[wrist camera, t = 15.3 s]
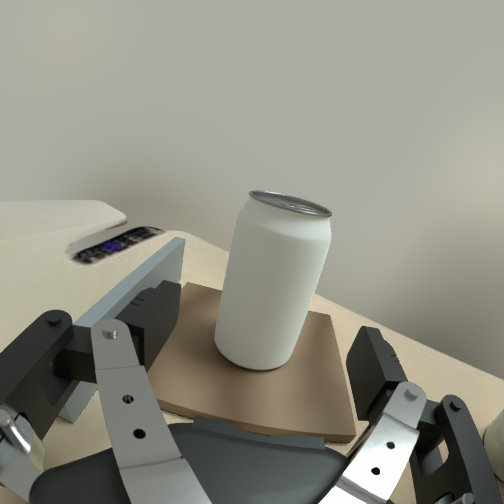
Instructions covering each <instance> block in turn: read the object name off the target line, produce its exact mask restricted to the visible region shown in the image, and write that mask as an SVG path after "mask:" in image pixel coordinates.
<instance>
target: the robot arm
mask: <svg viewBox="0 0 504 504" xmlns="http://www.w3.org/2000/svg"><path fill="white" fill-rule="evenodd" d="M180 295H181V284H179V283H175V282H171V281H168V280H163V281H162V282H161V283H160V284H159V285H158V286H157V287H156V288H152V287H149V288H147V289H145V290H142V291H140V292H139V293H138V294H137V295H136V296H135V298H133V299H132V301H131V302H130V303H129V304H128V305H127V306H126V307H125V308H124V309H123V310H122V311H121V312H120V313H119V314H118V315H117V316H116V317H115V318H114V319H102V320H99V321H97V322H96V323H94V324H93V326H92V327H84V326H78V325H73V323H72V318H71V316H70V315H69V314H68V313H67V312H65V311H62V310H50V311H47V312H45V313H43V314H42V315H41V316H39V317H38V318H37V319H36V320H35V321H34V322H33V323H32V324H31V325H29V326H28V327H27V328H26V329H25V330H24V331H23V332H22V333H21V334H20V335H19V336H18V337H17V338H16V339H15V340H14V341H12V342H11V343H10V344H9V345H8V346H7V347H6V348H5V349H4V350H3V351H2V352H1V353H0V485H1V486H3V487H7V488H9V489H10V490H11V491H13V492H14V493H15V494H17V495H18V496H19V497H21V498H22V499H24V500H25V501H26V502H28V503H29V504H394V503H393V502H392V501H391V500H390V499H389V496H390V494H391V492H392V491H393V489H394V487H395V485H396V483H397V481H398V480H399V478H400V476H401V474H402V472H403V470H404V468H405V466H406V463H407V461H408V459H409V462H410V467H411V472H412V478H413V483H414V489H415V495H416V502H417V504H503V503H502V499H501V495H500V492H499V488H498V485H497V482H496V479H495V476H494V473H495V474H496V476H498V477H499V478H500V479H501V480H502V481H503V482H504V409H503V410H502V411H501V413H500V414H499V415H498V416H497V417H496V419H495V420H494V421H493V422H492V423H491V424H490V425H489V427H488V428H487V430H486V432H485V437H484V445H483V443H482V440H481V438H480V435H479V433H478V431H477V428H476V426H475V424H474V421H473V419H472V417H471V415H470V413H469V410H468V408H467V406H466V404H465V403H464V402H463V400H461V399H460V398H459V397H457V396H455V395H446V396H445V397H444V398H443V399H442V400H441V402H440V403H438V402H434V401H431V400H427V397H426V394H425V392H424V391H423V389H422V388H421V387H419V386H418V385H416V384H414V383H412V382H408V380H407V377H406V375H405V373H404V371H403V368H402V366H401V364H400V363H399V360H398V358H397V357H396V356H397V355H396V353H395V351H394V349H393V348H392V346H391V345H390V344H389V343H388V342H387V341H385V340H384V339H383V337H382V335H381V332H380V330H379V329H378V328H372V327H366V326H362V327H361V328H360V330H359V332H358V334H357V336H356V338H355V340H354V342H353V344H352V346H351V348H350V350H349V352H348V355H347V359H346V367H347V372H348V376H349V380H350V385H351V389H352V394H353V398H354V403H355V408H356V412H357V417H358V420H359V421H369V425H368V426H367V427H366V429H365V430H364V431H363V433H362V434H361V436H360V437H359V438H358V440H357V441H356V443H355V444H354V445H353V447H352V448H351V449H350V451H349V452H348V453H347V455H346V456H344V455H342V454H341V453H339V452H337V451H335V450H333V449H331V448H328V447H325V444H324V437H313V436H303V435H281V436H259V435H256V434H253V433H251V432H248V431H246V430H244V429H241V428H239V427H237V426H234V425H232V424H230V423H227V422H222V421H218V420H214V419H210V418H207V417H203V416H199V415H196V417H195V420H194V423H174V424H168V425H167V424H166V421H165V419H164V417H163V414H162V412H161V409H160V407H159V405H158V402H157V400H156V397H155V395H154V392H153V389H152V387H151V384H150V381H149V379H148V376H147V373H148V371H149V369H150V368H151V366H152V364H153V363H154V361H155V359H156V358H157V356H158V354H159V353H160V351H161V349H162V348H163V346H164V344H165V343H166V341H167V339H168V338H169V336H170V335H171V333H172V331H173V330H174V328H175V326H176V323H177V320H178V315H179V305H180ZM80 381H83V382H89V383H94V384H97V385H98V390H99V395H100V400H101V405H102V409H103V414H104V418H105V422H106V426H107V430H108V434H109V438H110V441H111V445H112V448H109V449H106V450H104V451H101V452H99V453H96V454H93V455H90V456H88V457H85V458H82V459H79V460H76V461H73V462H70V463H67V464H64V465H60V466H57V467H54V468H51V469H48V470H46V471H44V472H43V463H44V460H45V456H46V451H45V447H44V445H43V443H42V440H43V438H44V437H45V435H46V433H47V432H48V430H49V429H50V427H51V425H52V424H53V422H54V421H55V419H56V417H57V416H58V414H59V413H60V411H61V410H62V408H63V407H64V405H65V404H66V402H67V401H68V399H69V398H70V396H71V395H72V393H73V392H74V390H75V389H76V387H77V386H78V384H79V383H80ZM444 439H445V442H446V445H447V448H448V451H449V455H448V458H447V460H446V462H445V463H444V464H443V461H442V458H441V454H440V451H439V448H438V445H439V444H440V443H441V442H442V441H443V440H444ZM493 471H494V473H493Z"/></svg>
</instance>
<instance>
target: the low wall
mask: <svg viewBox="0 0 504 504" xmlns="http://www.w3.org/2000/svg"><path fill="white" fill-rule="evenodd" d="M184 246H185V239H182V238H178V237H175V238H174V239H172V240H171V241H170V242H168V243H167V244H166V245H165V246H163V247H162V248H161V249H160V250H158V251H157V252H156V253H155V254H154V255H152V256H151V257H150V258H149V259H147V260H146V261H145V262H144V263H142V264H141V265H140V266H139V267H138V268H136V269H135V270H134V271H133V272H132V273H130V274H129V275H128V276H127V277H126V278H125V279H123V280H122V281H121V282H120V283H119V284H117V285H116V286H115V287H114V288H113V289H112V290H111V291H109V292H108V293H107V294H106V295H105V296H104V297H103V298H101V299H100V300H99V301H98V302H97V303H96V304H95V305H93V306H92V307H91V308H90V309H89V310H88V311H87V312H86V313H85V314H83V315H82V316H81V317H80V318H79V319H78V320H77V321H76V322H75V323H74V324H73V325H78V326H84V327H92V326H93V324H94V323H96V322H97V321H99V320H102V319H114V318H115V317H116V316H117V315H118V314H119V313H120V312H121V311H122V310H123V309H124V308H125V307H126V306H127V305H128V304H129V303H130V302H131V301H132V299H133V298H135V296H136V295H137V294H138V293H139V292H140V291H142V290H145V289H147V288H149V287H152V288H156V287H157V286H158V285H159V284H160V283H161V282H162V281H163V280H168V281H171V282H175V283H178V282H179V280H180V279H181V270H182V262H183V254H184ZM97 389H98V385H97V384H94V383H89V382H83V381H80V383H79V384H78V386H77V387H76V389H75V390H74V392H73V393H72V395H71V396H70V398H69V399H68V401H67V402H66V404H65V405H64V407H63V408H62V410H61V411H60V413H59V414H58V415H59V416H60V417H62V418H64V419H65V420H67V421H69V422H71V423H72V424H74V422H75V421H76V419H77V418H78V416H79V415H80V413H81V412H82V410H83V409H84V407H85V406H86V405H87V403H88V402H89V400H90V399H91V397H92V396H93V395H94V393H95V392H96V390H97Z"/></svg>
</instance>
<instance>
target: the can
mask: <svg viewBox="0 0 504 504" xmlns="http://www.w3.org/2000/svg"><path fill="white" fill-rule="evenodd" d="M249 195H250V197H249V200H248V201H247V203H246V204H245V205H244V206H243V208H242V209H241V211H240V212H239V215H238V218H237V222H236V227H235V231H234V235H233V240H232V245H231V250H230V255H229V260H228V265H227V270H226V275H225V280H224V285H223V290H222V295H221V301H220V306H219V311H218V317H217V322H216V328H215V335H214V339H215V343H216V346H217V348H218V349H219V351H220V352H221V353H222V354H223V356H224V357H225V358H227V359H228V360H229V361H230V362H232V363H234V364H235V365H237V366H240V367H242V368H246V369H250V370H257V371H264V370H270V369H274V368H277V367H279V366H281V365H283V364H285V363H286V362H287V361H288V360H289V358H290V356H291V354H292V352H293V350H294V347H295V345H296V342H297V339H298V337H299V334H300V332H301V329H302V326H303V324H304V321H305V318H306V315H307V313H308V310H309V307H310V304H311V301H312V299H313V296H314V293H315V290H316V287H317V284H318V281H319V278H320V275H321V272H322V269H323V265H324V262H325V259H326V256H327V253H328V249H329V246H330V241H331V228H330V216H331V215H332V212H331V211H330V210H328V209H327V208H324V207H322V206H320V205H318V204H315V203H313V202H310V201H306V200H303V199H300V198H296V197H293V196H289V195H284V194H280V193H274V192H268V191H257V190H256V191H250V192H249Z"/></svg>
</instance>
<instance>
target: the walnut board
mask: <svg viewBox="0 0 504 504" xmlns="http://www.w3.org/2000/svg"><path fill="white" fill-rule="evenodd" d="M221 295H222V291H221V290H217V289H213V288H209V287H205V286H201V285H197V284H194V283H190V282H187V283H186V284H185V286H184V287H183V288H182V290H181V295H180V305H179V315H178V320H177V323H176V326H175V328H174V330H173V331H172V333H171V335H170V336H169V338H168V339H167V341H166V343H165V344H164V346H163V348H162V349H161V351H160V353H159V354H158V356H157V358H156V359H155V361H154V363H153V364H152V366H151V368H150V369H149V371H148V373H147V376H148V379H149V381H150V384H151V387H152V389H153V392H154V395H155V397H156V400H157V402H158V405H159V407H160V408H161V409H164V410H167V411H170V412H173V413H176V414H179V415H182V416H186V417H189V418H193V419H195V417H196V415H199V416H203V417H207V418H210V419H214V420H218V421H222V422H227V423H230V424H232V425H234V426H237V427H239V428H241V429H244V430H246V431H248V432H252V433H258V434H264V435H270V436H281V435H303V436H313V437H324V442H342V443H350V442H351V441H352V440H353V439H354V438H355V436H356V430H355V425H354V419H353V414H352V409H351V404H350V399H349V394H348V389H347V385H346V380H345V375H344V371H343V367H342V362H341V358H340V354H339V349H338V345H337V341H336V337H335V333H334V329H333V325H332V321H331V317H330V315H327V314H322V313H317V312H313V311H308V313H307V315H306V318H305V321H304V324H303V326H302V329H301V332H300V334H299V337H298V339H297V342H296V345H295V347H294V350H293V352H292V354H291V356H290V358H289V360H288V361H287V362H286V363H285V364H283V365H281V366H279V367H277V368H274V369H270V370H264V371H257V370H250V369H246V368H242V367H240V366H237V365H235V364H234V363H232V362H230V361H229V360H228V359H227V358H225V357H224V356H223V354H222V353H221V352H220V351H219V349H218V348H217V346H216V343H215V339H214V335H215V328H216V322H217V317H218V311H219V306H220V301H221Z"/></svg>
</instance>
